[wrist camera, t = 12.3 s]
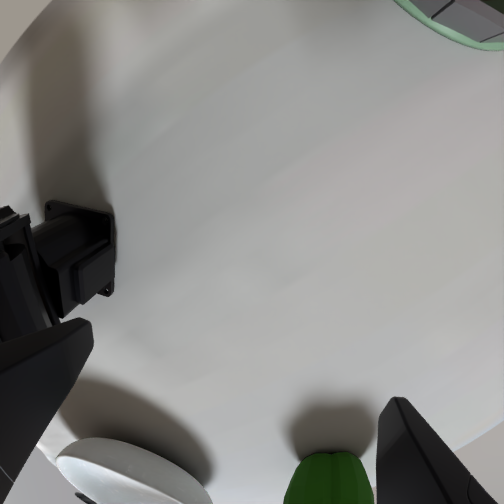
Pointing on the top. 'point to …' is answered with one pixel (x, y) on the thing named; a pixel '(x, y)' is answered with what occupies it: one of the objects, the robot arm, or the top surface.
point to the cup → (462, 20)
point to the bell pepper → (330, 481)
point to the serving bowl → (127, 474)
